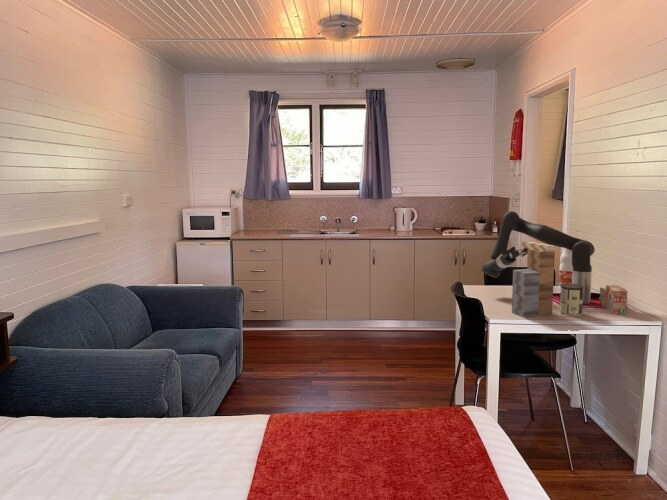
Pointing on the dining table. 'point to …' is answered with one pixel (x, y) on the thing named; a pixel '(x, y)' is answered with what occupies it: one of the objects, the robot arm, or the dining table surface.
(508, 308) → the dining table surface
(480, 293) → the dining table surface
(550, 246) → the birch bar
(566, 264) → the fruit juice
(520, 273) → the stepped stand
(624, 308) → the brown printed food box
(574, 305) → the coffee can
